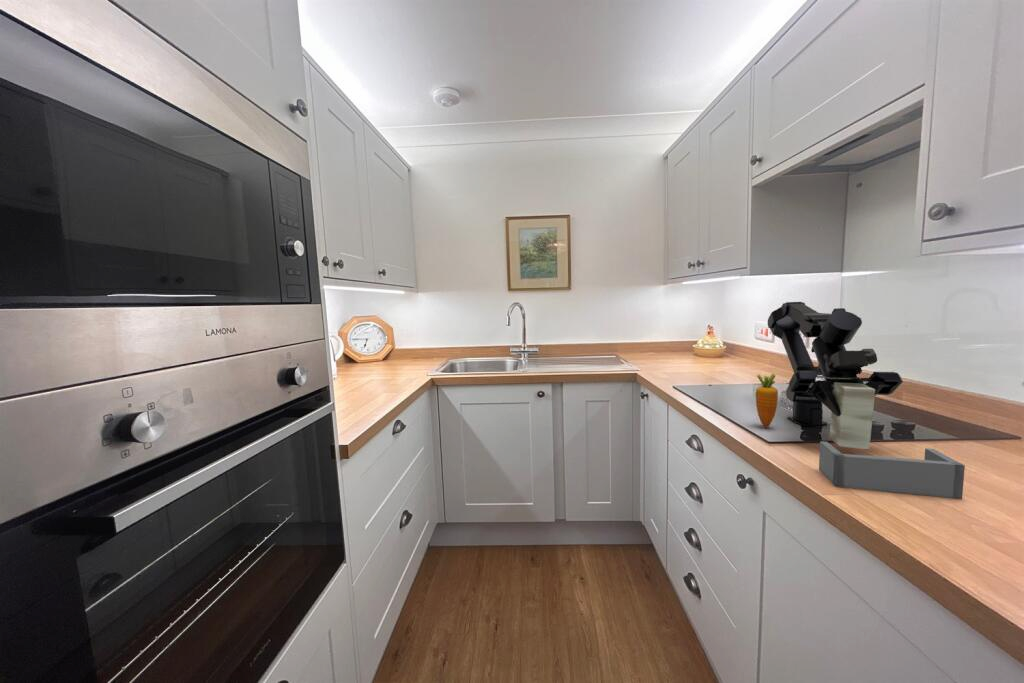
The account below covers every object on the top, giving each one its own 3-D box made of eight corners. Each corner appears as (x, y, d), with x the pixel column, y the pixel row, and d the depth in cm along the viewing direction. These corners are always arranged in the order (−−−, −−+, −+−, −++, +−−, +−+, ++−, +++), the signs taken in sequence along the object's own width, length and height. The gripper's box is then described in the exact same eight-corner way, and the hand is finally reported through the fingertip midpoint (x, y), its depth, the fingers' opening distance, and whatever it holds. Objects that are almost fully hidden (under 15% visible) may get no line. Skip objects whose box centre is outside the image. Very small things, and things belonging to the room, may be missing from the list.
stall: (818, 469, 75) (820, 441, 75) (931, 479, 69) (933, 448, 69) (835, 486, 69) (837, 455, 68) (962, 498, 63) (964, 465, 62)
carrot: (750, 426, 101) (751, 373, 99) (762, 423, 103) (763, 371, 101) (769, 432, 96) (770, 376, 95) (781, 428, 98) (783, 373, 96)
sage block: (829, 437, 84) (834, 382, 82) (857, 440, 82) (862, 383, 80) (839, 446, 79) (844, 388, 78) (869, 449, 77) (875, 389, 76)
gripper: (795, 336, 85) (813, 395, 76) (900, 335, 78) (934, 399, 69) (782, 363, 93) (797, 420, 84) (876, 364, 87) (904, 425, 78)
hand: (854, 416), depth 78 cm, fingers closed on sage block, 5 cm apart
